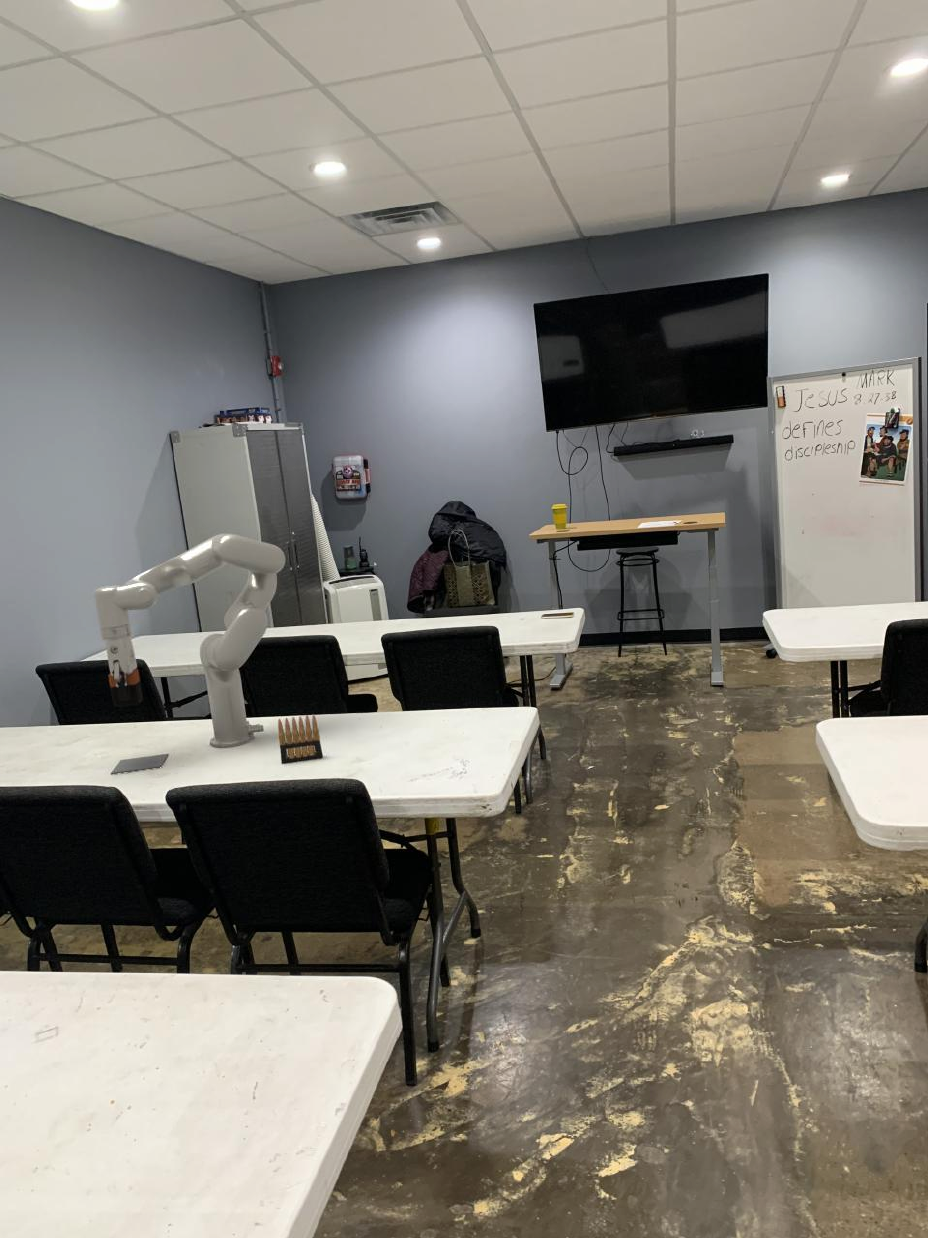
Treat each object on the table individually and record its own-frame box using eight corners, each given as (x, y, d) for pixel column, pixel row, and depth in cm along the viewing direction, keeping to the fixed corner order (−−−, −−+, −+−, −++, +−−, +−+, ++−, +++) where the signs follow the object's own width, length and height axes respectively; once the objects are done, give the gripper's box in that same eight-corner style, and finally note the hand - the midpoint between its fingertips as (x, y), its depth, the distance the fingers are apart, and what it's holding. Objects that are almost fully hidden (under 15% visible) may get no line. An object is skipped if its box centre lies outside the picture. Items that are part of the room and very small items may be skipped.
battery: (139, 704, 232) (132, 668, 230) (113, 707, 231) (107, 671, 230) (144, 700, 236) (137, 665, 234) (118, 703, 236) (112, 668, 234)
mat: (168, 755, 243) (168, 753, 243) (161, 767, 232) (160, 766, 232) (120, 761, 241) (120, 760, 241) (111, 774, 230) (110, 773, 230)
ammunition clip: (322, 756, 228) (317, 712, 226) (322, 758, 226) (316, 714, 224) (282, 762, 227) (275, 718, 225) (281, 764, 225) (275, 720, 223)
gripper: (123, 636, 222) (135, 704, 225) (137, 625, 239) (148, 688, 242) (92, 639, 221) (105, 708, 225) (109, 628, 238) (121, 692, 241)
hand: (127, 697), depth 233 cm, fingers closed on battery, 4 cm apart
